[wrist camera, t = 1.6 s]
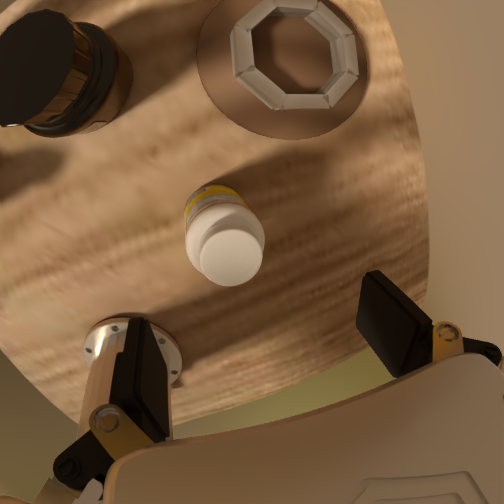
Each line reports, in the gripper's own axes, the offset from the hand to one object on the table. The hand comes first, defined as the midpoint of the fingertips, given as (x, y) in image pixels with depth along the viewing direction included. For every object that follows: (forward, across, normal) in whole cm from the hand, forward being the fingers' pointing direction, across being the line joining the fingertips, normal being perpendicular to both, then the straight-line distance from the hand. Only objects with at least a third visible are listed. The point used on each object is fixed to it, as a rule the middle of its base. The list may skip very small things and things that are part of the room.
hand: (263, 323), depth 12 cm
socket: (+17, -8, -14) cm, 23 cm away
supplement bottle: (+17, 0, 0) cm, 17 cm away
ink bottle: (+17, +10, -14) cm, 24 cm away
